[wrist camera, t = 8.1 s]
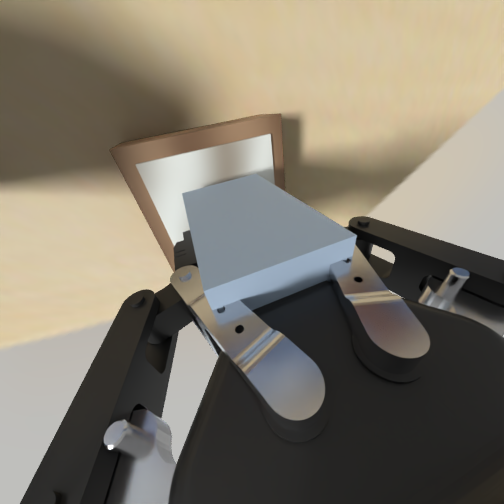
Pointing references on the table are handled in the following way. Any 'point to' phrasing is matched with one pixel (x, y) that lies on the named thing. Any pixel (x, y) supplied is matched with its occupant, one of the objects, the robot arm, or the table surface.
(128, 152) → the base
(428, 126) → the table surface
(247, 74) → the table surface
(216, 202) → the block
